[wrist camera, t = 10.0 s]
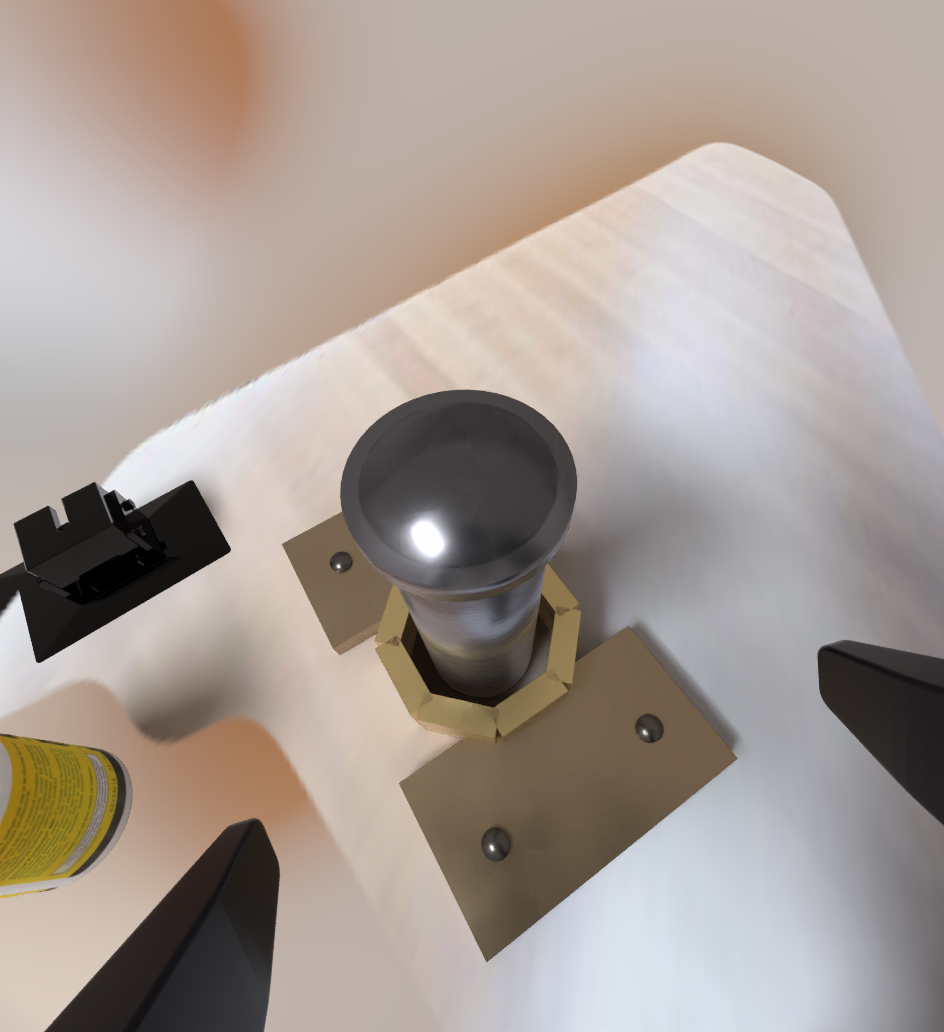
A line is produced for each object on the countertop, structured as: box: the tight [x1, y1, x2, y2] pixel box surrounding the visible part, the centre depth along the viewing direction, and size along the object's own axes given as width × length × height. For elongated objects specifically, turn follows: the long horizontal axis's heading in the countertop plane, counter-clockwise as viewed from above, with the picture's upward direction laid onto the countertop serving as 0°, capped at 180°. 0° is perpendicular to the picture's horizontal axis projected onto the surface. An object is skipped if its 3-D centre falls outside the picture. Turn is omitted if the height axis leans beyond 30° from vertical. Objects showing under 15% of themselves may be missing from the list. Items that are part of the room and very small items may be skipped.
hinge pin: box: [340, 390, 577, 697], centre depth 17 cm, size 5×5×13 cm
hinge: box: [282, 512, 738, 962], centre depth 21 cm, size 18×11×2 cm, turn 32°
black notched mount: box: [0, 480, 231, 663], centre depth 24 cm, size 12×7×5 cm, turn 126°
